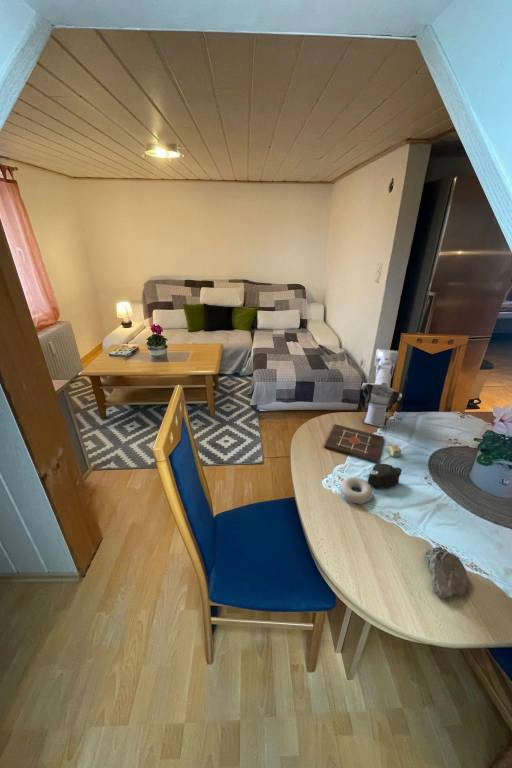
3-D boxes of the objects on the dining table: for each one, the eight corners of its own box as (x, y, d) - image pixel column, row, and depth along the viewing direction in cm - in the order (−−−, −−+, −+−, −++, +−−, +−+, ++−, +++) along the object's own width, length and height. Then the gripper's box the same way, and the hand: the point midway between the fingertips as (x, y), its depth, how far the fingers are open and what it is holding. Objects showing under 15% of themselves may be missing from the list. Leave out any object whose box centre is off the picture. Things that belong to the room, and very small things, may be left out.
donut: (343, 479, 104) (336, 499, 96) (344, 471, 103) (338, 491, 95) (373, 488, 100) (369, 510, 92) (375, 480, 99) (371, 502, 91)
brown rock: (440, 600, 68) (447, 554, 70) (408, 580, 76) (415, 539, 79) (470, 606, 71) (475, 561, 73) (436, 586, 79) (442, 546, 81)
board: (334, 426, 132) (335, 424, 131) (383, 438, 123) (383, 436, 123) (324, 447, 119) (324, 444, 119) (377, 463, 111) (378, 460, 110)
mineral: (394, 498, 96) (397, 485, 94) (365, 487, 101) (367, 474, 98) (399, 479, 104) (403, 466, 101) (372, 469, 108) (375, 456, 106)
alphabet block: (392, 457, 114) (393, 450, 112) (388, 451, 116) (389, 445, 115) (400, 456, 114) (401, 450, 112) (396, 451, 117) (397, 444, 115)
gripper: (367, 370, 119) (362, 390, 109) (405, 381, 115) (404, 403, 105) (361, 384, 123) (356, 404, 113) (398, 395, 119) (396, 417, 109)
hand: (379, 404), depth 109 cm, fingers open, 7 cm apart
